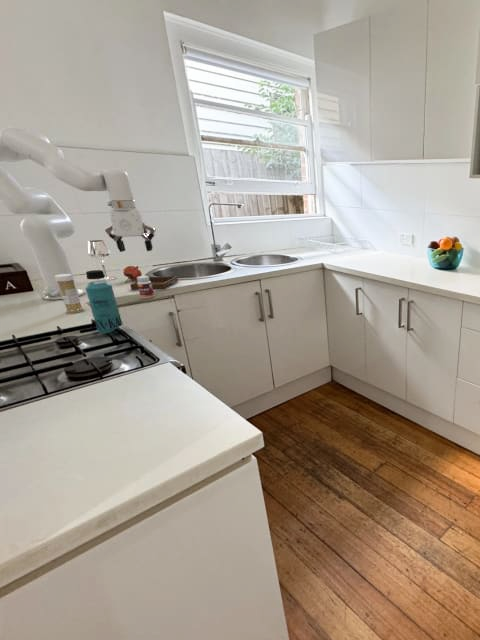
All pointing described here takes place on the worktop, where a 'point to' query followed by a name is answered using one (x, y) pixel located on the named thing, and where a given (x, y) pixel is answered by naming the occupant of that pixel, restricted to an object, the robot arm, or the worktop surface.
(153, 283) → the tray
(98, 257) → the wineglass
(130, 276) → the pomegranate
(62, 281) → the sprinkles bottle
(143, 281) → the pill bottle
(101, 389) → the worktop surface
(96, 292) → the beverage bottle
